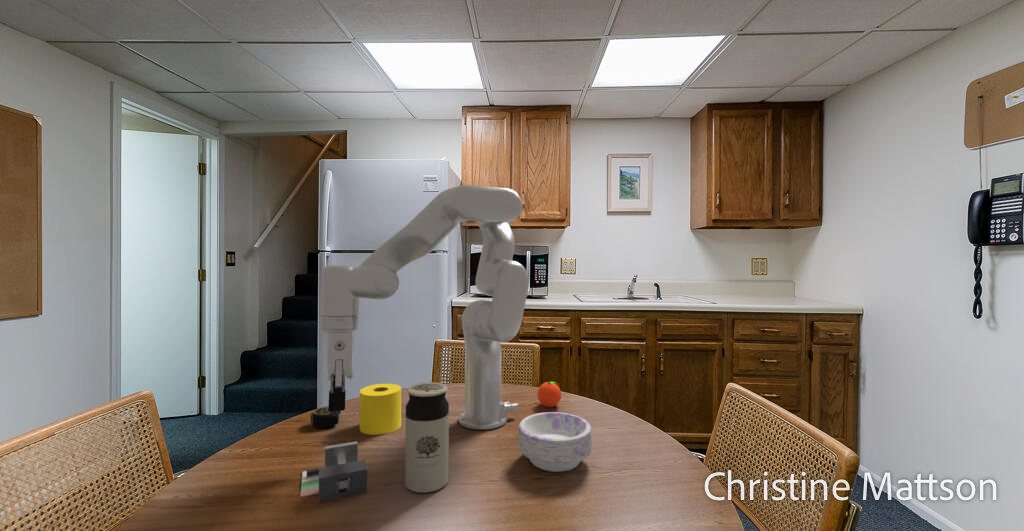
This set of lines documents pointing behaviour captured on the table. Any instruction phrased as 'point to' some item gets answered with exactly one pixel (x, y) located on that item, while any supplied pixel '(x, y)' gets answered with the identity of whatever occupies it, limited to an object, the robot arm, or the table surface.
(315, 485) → the scale strip
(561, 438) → the paper bowls
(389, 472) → the table surface
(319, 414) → the tape measure
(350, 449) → the grey t-shaped piece
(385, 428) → the tape roll
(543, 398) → the clementine
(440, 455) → the travel mug
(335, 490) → the block
